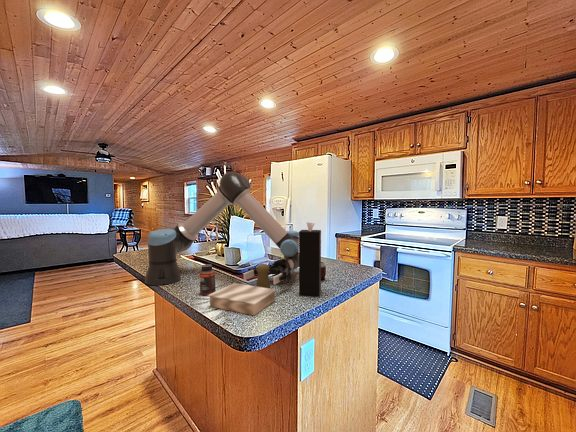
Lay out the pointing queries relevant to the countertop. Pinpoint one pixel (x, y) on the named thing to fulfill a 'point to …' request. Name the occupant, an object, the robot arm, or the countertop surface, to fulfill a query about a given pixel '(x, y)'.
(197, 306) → the countertop surface
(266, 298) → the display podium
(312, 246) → the tissue box
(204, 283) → the supplement bottle
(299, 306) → the countertop surface
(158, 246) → the robot arm
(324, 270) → the mate gourd
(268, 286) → the cork
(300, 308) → the countertop surface
